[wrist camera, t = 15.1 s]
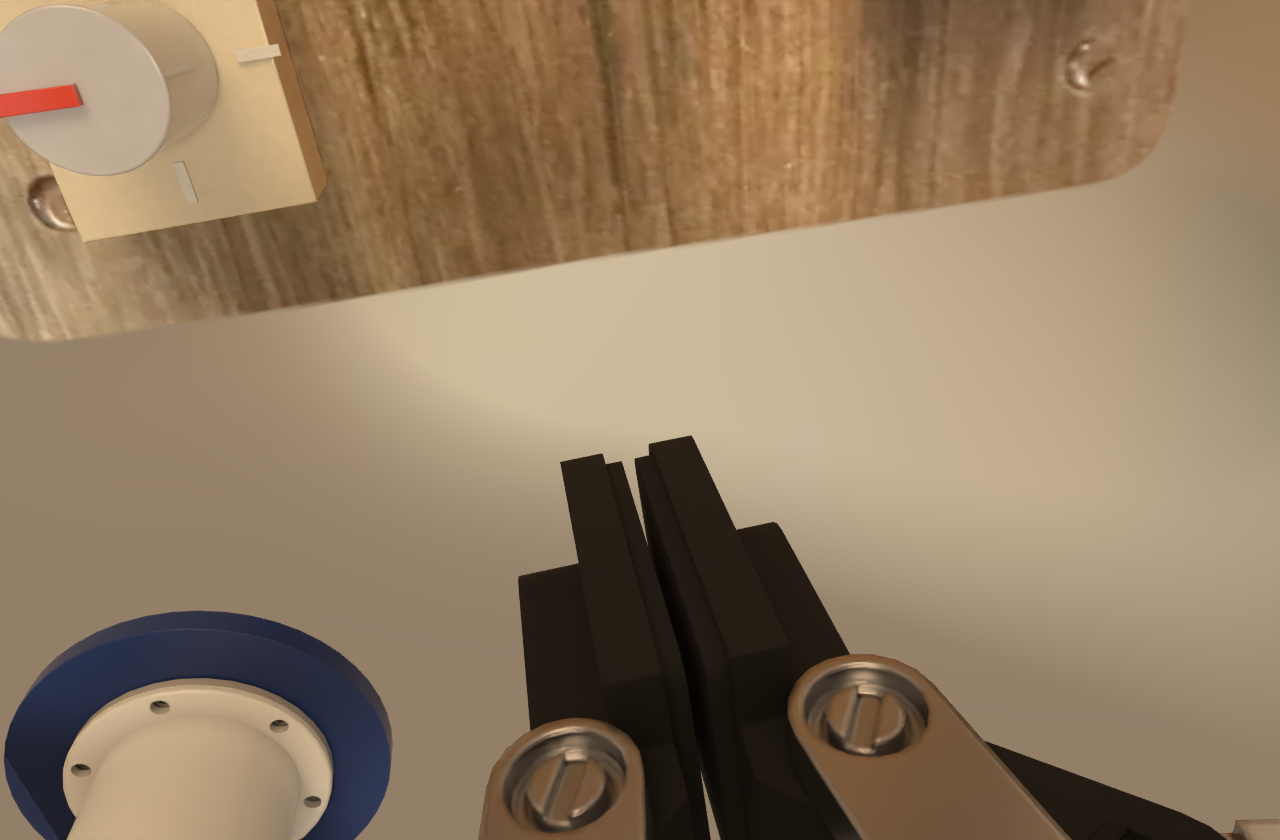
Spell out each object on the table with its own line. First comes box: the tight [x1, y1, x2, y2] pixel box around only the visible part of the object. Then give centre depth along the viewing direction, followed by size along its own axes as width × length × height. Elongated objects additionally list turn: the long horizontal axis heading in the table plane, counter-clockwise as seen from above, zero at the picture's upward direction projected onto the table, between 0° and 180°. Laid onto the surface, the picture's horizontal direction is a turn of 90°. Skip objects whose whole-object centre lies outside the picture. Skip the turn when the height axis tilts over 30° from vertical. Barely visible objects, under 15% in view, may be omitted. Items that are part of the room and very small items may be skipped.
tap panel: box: [0, 0, 328, 242], centre depth 31 cm, size 10×9×3 cm
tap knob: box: [0, 0, 218, 176], centre depth 27 cm, size 4×4×6 cm
